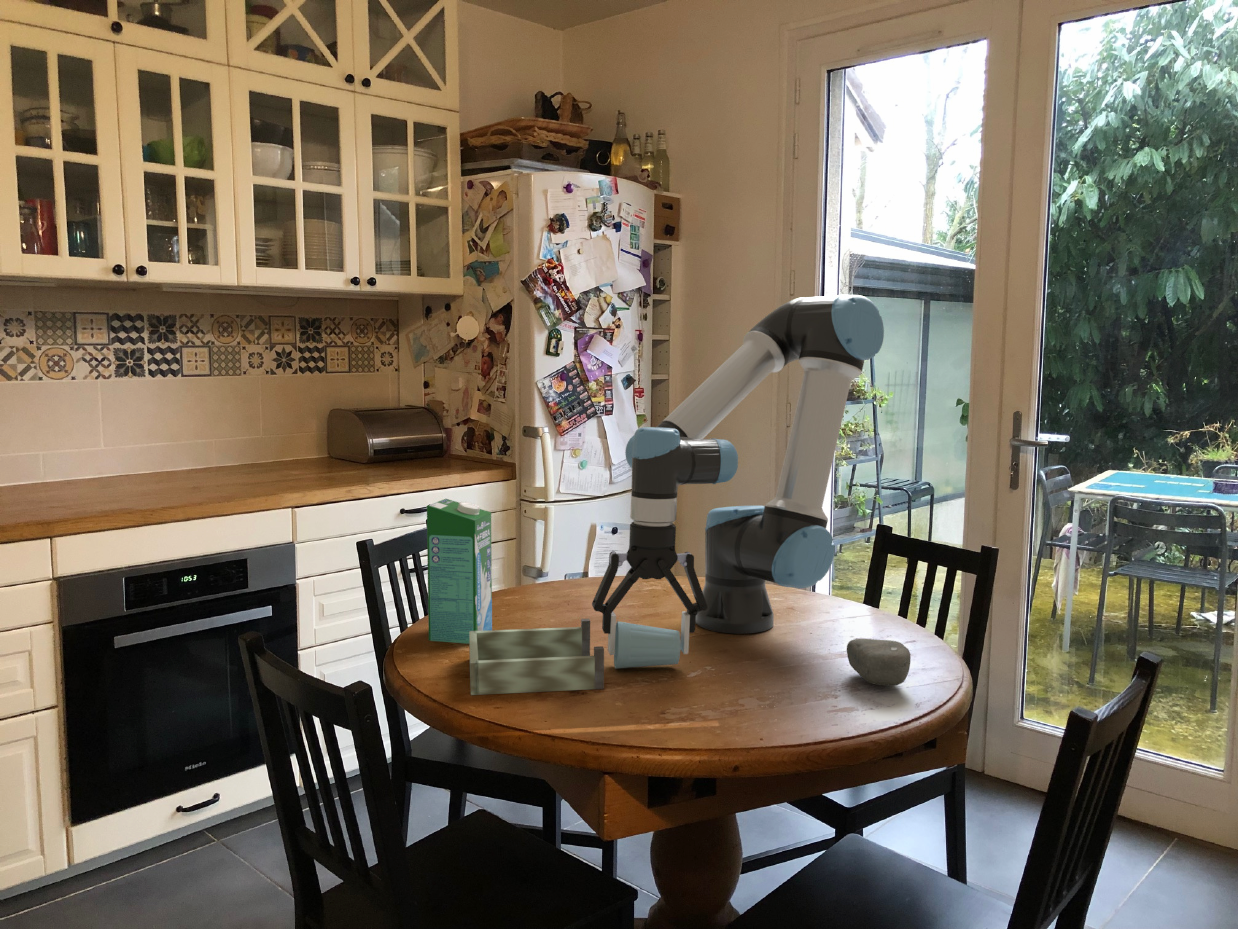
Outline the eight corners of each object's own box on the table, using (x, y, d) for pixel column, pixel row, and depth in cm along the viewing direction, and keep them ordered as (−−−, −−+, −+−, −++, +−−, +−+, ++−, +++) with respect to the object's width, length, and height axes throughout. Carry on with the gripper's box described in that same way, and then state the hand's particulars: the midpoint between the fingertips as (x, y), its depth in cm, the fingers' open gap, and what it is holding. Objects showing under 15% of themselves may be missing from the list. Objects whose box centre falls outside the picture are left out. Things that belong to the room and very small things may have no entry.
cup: (679, 676, 158) (616, 673, 157) (673, 665, 165) (612, 662, 165) (682, 630, 158) (619, 626, 157) (676, 620, 165) (615, 617, 164)
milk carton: (475, 645, 174) (474, 507, 171) (428, 642, 176) (426, 505, 173) (492, 631, 183) (491, 499, 180) (446, 628, 184) (445, 497, 181)
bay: (588, 654, 169) (589, 618, 168) (603, 689, 152) (604, 649, 151) (469, 659, 165) (469, 623, 165) (470, 695, 148) (470, 654, 148)
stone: (897, 660, 162) (906, 620, 156) (907, 704, 155) (917, 664, 149) (842, 660, 163) (849, 620, 156) (850, 704, 156) (857, 663, 150)
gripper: (718, 519, 164) (712, 644, 167) (577, 517, 161) (573, 646, 163) (730, 526, 157) (724, 657, 159) (583, 525, 153) (578, 659, 155)
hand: (647, 652), depth 161 cm, fingers closed on cup, 12 cm apart
